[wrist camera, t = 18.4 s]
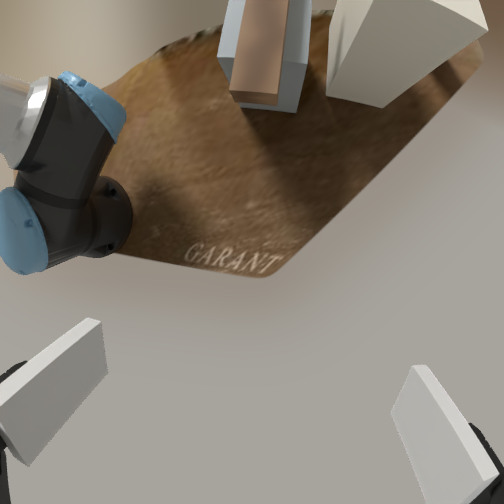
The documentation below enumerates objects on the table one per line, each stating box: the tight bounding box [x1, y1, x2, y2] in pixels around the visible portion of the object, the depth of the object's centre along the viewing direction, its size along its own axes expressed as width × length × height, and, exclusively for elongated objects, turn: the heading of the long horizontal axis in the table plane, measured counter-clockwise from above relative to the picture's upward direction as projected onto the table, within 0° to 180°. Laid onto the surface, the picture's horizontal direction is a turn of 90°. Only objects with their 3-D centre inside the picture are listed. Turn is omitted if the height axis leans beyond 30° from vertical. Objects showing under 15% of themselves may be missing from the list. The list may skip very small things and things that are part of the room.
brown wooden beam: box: [229, 0, 290, 106], centre depth 20 cm, size 9×22×4 cm, turn 173°
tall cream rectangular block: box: [326, 0, 488, 108], centre depth 24 cm, size 10×15×30 cm, turn 173°
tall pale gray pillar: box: [217, 0, 312, 113], centre depth 31 cm, size 9×12×19 cm
